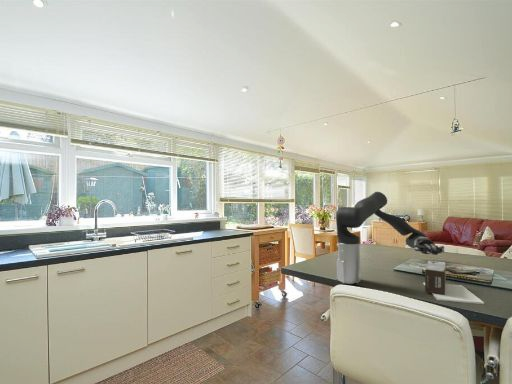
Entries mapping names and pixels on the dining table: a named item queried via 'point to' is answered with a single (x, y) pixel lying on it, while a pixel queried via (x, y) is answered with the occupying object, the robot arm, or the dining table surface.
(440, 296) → the white flat rectangular board
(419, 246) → the robot arm
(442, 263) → the coffee box
